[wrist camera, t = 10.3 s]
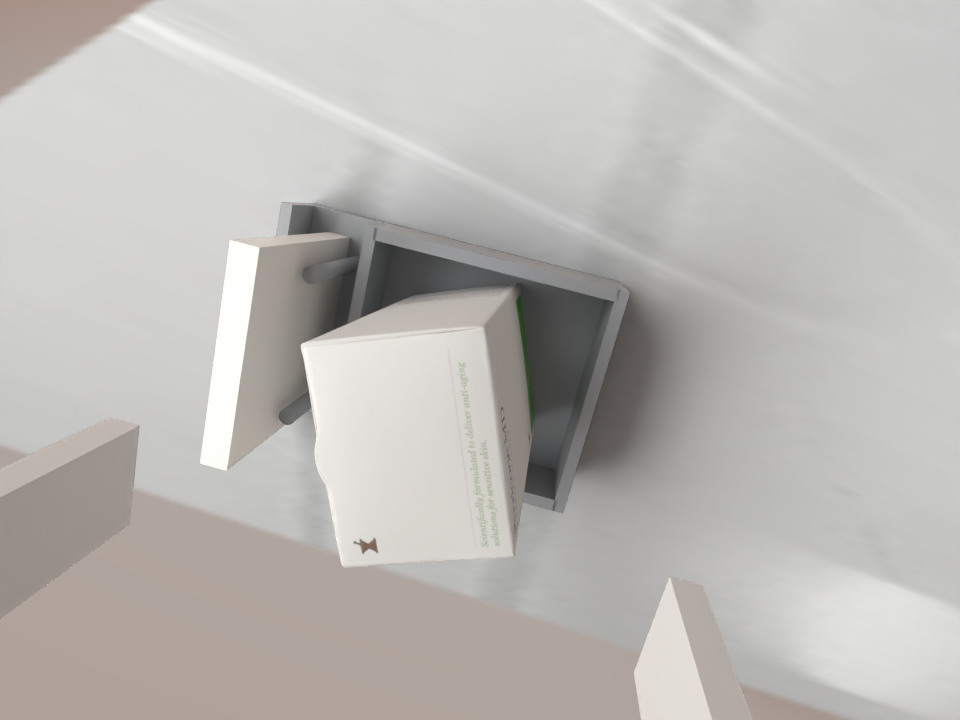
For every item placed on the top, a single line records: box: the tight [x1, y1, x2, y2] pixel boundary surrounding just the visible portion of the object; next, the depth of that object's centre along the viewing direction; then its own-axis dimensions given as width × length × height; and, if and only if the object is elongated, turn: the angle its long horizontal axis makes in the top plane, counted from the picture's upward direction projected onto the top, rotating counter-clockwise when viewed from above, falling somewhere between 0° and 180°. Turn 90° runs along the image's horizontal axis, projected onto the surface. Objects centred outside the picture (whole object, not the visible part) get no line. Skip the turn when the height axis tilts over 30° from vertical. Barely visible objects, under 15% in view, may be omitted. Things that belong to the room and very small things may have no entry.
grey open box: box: [200, 202, 630, 513], centre depth 30 cm, size 18×12×12 cm, turn 76°
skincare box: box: [301, 283, 536, 568], centre depth 28 cm, size 8×7×16 cm
